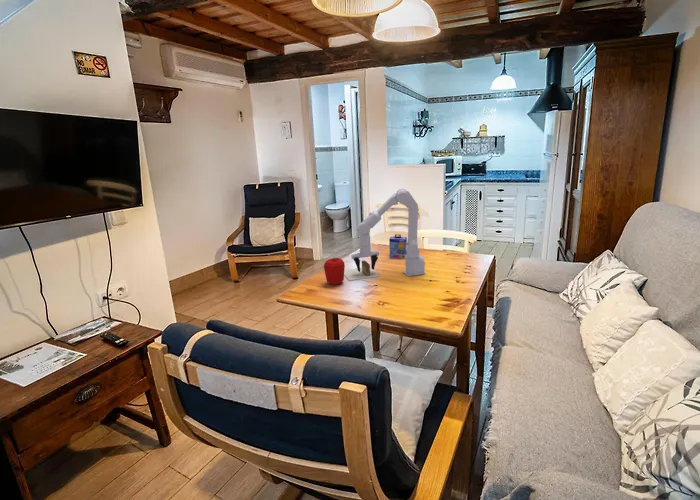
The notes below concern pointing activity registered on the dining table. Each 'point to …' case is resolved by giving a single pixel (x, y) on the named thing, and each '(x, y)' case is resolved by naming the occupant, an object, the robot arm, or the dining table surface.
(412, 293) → the dining table surface
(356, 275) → the mat
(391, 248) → the ink cartridge box
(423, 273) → the robot arm
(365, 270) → the tile
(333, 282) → the apple
